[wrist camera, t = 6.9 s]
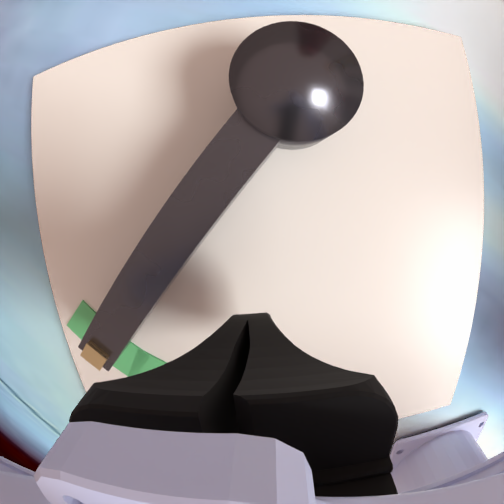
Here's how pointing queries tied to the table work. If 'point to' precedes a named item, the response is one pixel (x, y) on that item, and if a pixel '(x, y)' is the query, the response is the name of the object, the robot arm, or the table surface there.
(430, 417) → the table surface
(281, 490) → the robot arm
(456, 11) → the table surface
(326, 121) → the lever
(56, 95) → the dial board
